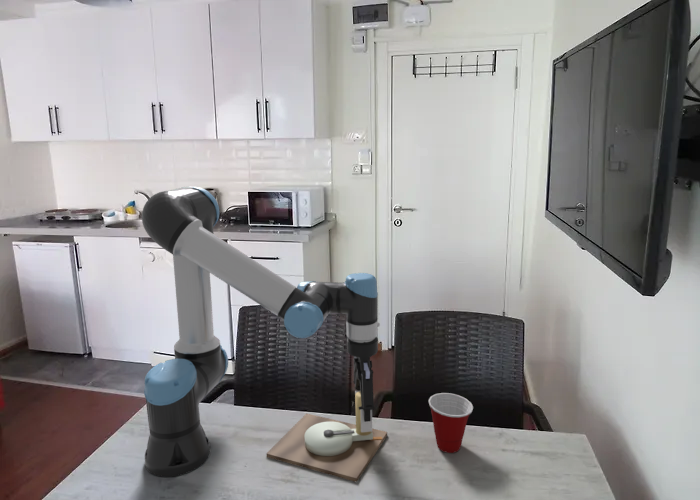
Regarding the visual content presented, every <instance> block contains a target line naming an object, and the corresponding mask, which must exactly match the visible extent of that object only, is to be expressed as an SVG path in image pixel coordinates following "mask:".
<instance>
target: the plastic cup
mask: <svg viewBox="0 0 700 500" xmlns="http://www.w3.org/2000/svg"><path fill="white" fill-rule="evenodd" d="M428 404H429V405H428V406H429V407H430V410H431V411H430V412H431V416H432V417H431V418H432V425H433V431H434V435H435V442H436V445H437V448H438V449H439V450H440V451H442V452H443V453H444V452H445V453H449V454H453V453H457V452H458V451H459V450H461V447H462V444H463V443H462V442H463V438H464V435H465V433H466V432H465V430H466V426H467V423H468V419H469V417H470V415H471V414H472V412H473V409H474V406H473V404H472V402H471V401H469V400H468V399H467V398H465V397H464V396H461V395H459V394H456V393H451V392H450V393H449V392H441V393H435V394H433V395H431V396H430V397H429V398H428Z"/></svg>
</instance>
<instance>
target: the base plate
mask: <svg viewBox="0 0 700 500" xmlns="http://www.w3.org/2000/svg"><path fill="white" fill-rule="evenodd" d="M321 422H339V423H342V424H345V425H347V426H348V427H349V428H350V429H356V423H351V422H345V421H341V420H336V419H333V418H328V417H323V416H319V415H315V414H311V413H305V414H304V415H303V416H302V417H301V418H300V419H299V420H298V421H297V422H296V423H295V424H294V425H293V426H292V427H291V428H290V429H289V430H288V431H287V432H286V433H285V434H284V435H283V436H282V437H281V438H280V439H279V440H278V441H277V442H276V443H275V444H274V445H273V446H272V447H271V448H270V449H269V450H268V451H267V452H266V453H265V455H266V458H269V459H272V460H276V461H279V462H282V463H283V462H284V463H287V464H289V465H290V464H291V465H293V466H294V465H295V466H297V467H301V468H304V469H307V470H311V471H315V472H319V473H321V474H325V475H326V474H327V475H329V476H334V477H336V478H340V479H343V480H347V481H351V482H354V483H358V481H359V479H360V478H361V476H362V475H363V473H364V472H365V470H366V469H367V467H368V465H370V462H371V461H372V459H373V458H374V457H375V455H376V453H377V452H378V450H379V449H380V447H381V446H382V444H383V443H384V441H385V440H386V438H388V437H387V436H388V431H385V430H381V429H377V428H372V433H373V439H371V440H361V441H353V442H352V445H351V447H350V448H349V449H348V450H347V451H345V452H344V453H341V454H338V455H334V456H320V455H316V454H313V453H311V452H310V451H309V450H308V449H307V448H306V446H305V432H306V431H307V429H308V428H310V427H311V426H313V425H315V424H318V423H321Z"/></svg>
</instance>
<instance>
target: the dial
mask: <svg viewBox="0 0 700 500" xmlns="http://www.w3.org/2000/svg"><path fill="white" fill-rule="evenodd" d="M354 395H355V397H354V399H355V400H354V401H355V404H354V405H356V408H355V425H356V429H350V428H349V427H348V426H347V425H345V424H342V423H339V422H321V423H318V424H315V425H313V426H311V427H310V428H308V429H307V431H306V432H305V446H306V448H307V449H308V450H309V451H310V452H311V453H313V454H316V455H320V456H334V455H338V454H341V453H344V452H345V451H347V450H348V449H349V448H350V447H351V445H352V442H353V441H361V440H371V439H373V433H372V431H371V432H361V410H359V407H361V406H362V405H361V391H359V392H357V393H356V394H355V393H354Z"/></svg>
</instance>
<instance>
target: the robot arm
mask: <svg viewBox="0 0 700 500" xmlns="http://www.w3.org/2000/svg"><path fill="white" fill-rule="evenodd" d="M219 218H220V206H219V204H218V201H217V199H216V198H215V197H214V195H212V193H211V192H209V190H207V189H205V188H203V187H199V186H183V187H179V188H175V189H169V190H162V191H160V192H157V193H155V194H154V195H152V196H150V198H148V200H146V202H145V203H144V205H143V208H142V211H141V222H142V226H143V229H144V230H145V232H146V234H147V235H148V236H149V238H150V239H152V241H153V242H155V243H156V244H157V245H158V246H160V247H161V248H162V249H163V250H165V251H166V252H168V253H170V254H171V255H172V261H173V262H172V263H173V274H174V284H175V285H174V286H175V294H176V295H175V298H176V299H175V300H176V310H177V311H176V312H177V323H178V336H179V339H178V340H177V341H176V342H175V343H174V347H173V351H174V358H172V359H167V360H165V362H159V363H158V364H156V365H154V366H153V367H152V368H151V369H149V370H148V372H147V373H146V374H145V377H144V388H143V389H144V390H143V394H144V398H145V403H146V404H145V405H146V414H147V421H148V427H149V428H148V430H149V435H148V441H147V444H146V446H147V447H146V449H145V452H144V463H145V468H146V470H147V471H148V473H151V475H154V476H157V477H163V478H164V477H165V478H167V477H177V476H182V475H186V474H189V473H191V472H193V471H195V470H197V469H198V468H199V467H201V466H203V464H205V463H206V462H207V461H208V460H209V457H210V455H211V445H210V444H211V443H210V440H209V437H207V434H206V432H205V430H204V428H203V426H202V424H201V417H200V414H201V413H200V402H201V401H203V400H204V399H205V397H207V395H208V394H210V392H212V390H213V389H214V388H216V386H218V385H219V383H220V382H221V381H222V380H223V378H224V376H225V374H226V373H227V370H228V368H229V357H228V354H227V351H226V350H225V349H224V348H223V347H222V345H221V340H220V338H219V337H217V336H216V335H215V334H214V331H215V329H214V317H213V315H214V314H213V301H212V300H213V299H212V290H211V289H212V287H211V275H212V276H213V277H216V278H218V279H219V280H220V281H222V282H223V283H225V284H227V285H229V287H232V288H233V289H235V290H237V292H240V293H241V294H242V295H244V296H245V297H248V299H250V300H252V301H253V302H255V303H256V304H259V306H262V307H263V308H265V309H266V310H267V311H269V312H271V313H272V314H273V315H276V316H277V317H278V318H280V319H281V320H282V321H283V324H284V327H285V329H286V331H287V332H288V333H289V334H290V335H291V336H292V337H295V338H297V339H306V338H310V337H311V336H313V335H314V334H315V333H316V332H317V331H318V330H319V329H320V328H321V327H322V325H323V323H324V321H325V319H327V317H328V316H329V314H337V315H342V314H343V315H344V314H345V316H346V321H345V322H346V324H345V325H346V328H345V329H346V337H347V339H346V348H347V353H348V354H349V355H350V356H351V357H353V381H352V382H353V385H354V389H355V390H354V395H355V394H356V393H357V392H359V391H361V405H362V406H361V407H359V410H361V432H371V431H372V429H373V411H374V410H375V406H374V405H375V404H374V403H375V402H374V370H373V369H372V368H373V362H372V360H371V357H372V356H375V355H376V354H377V353H378V352H379V339H378V330H379V329H378V327H380V326H381V324H380V322H378V319H379V318H378V311H379V309H378V306H379V305H378V304H379V303H378V302H379V300H378V299H379V292H378V285H377V284H378V283H377V277H375V276H374V275H373V274H372V273H371V274H370V273H365V272H358V273H356V272H355V273H350V274H348V275H346V277H345V281H344V282H343V281H342V282H338V281H337V282H334V281H333V282H332V281H316V280H310V281H301V282H300V283H298V284H297V286H295V285H293V284H292V283H291V282H289V281H287V280H286V279H284V278H282V277H281V276H279V275H278V274H276V273H275V272H273V271H272V270H270V269H268V268H267V267H265V266H264V265H262V264H261V263H260V262H258V261H256V260H254V259H253V258H252V257H250V256H248V254H245V253H243V252H242V251H240V250H239V249H237V248H236V247H234V246H233V245H231V244H229V243H228V242H226V241H225V240H223V239H222V238H220V237H219V236H217V235H216V234H214V227H215V225H216V224H217V223H218V221H219ZM354 405H355V404H354ZM354 407H355V409H356V405H355V406H354Z"/></svg>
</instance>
